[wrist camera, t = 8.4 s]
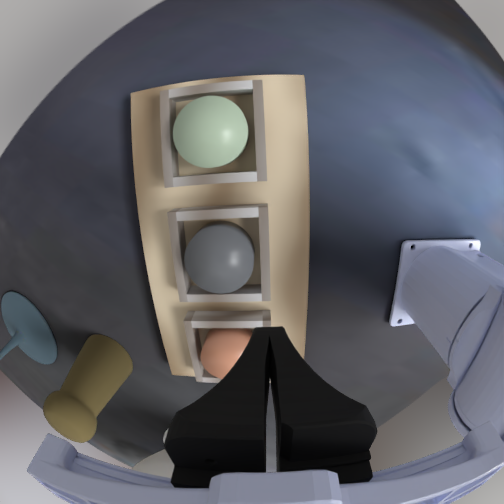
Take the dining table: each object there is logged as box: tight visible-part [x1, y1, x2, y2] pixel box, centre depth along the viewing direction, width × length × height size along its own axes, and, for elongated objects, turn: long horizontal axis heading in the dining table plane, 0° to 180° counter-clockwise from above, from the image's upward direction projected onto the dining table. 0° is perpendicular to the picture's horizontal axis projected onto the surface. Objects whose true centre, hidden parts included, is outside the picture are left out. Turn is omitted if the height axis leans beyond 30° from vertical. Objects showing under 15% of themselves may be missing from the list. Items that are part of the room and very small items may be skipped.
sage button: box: [173, 96, 249, 168], centre depth 16 cm, size 4×4×2 cm
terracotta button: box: [200, 328, 253, 379], centre depth 21 cm, size 4×4×2 cm
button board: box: [131, 75, 310, 383], centre depth 19 cm, size 12×24×3 cm, turn 3°
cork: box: [43, 334, 133, 443], centre depth 20 cm, size 6×6×11 cm
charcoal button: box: [184, 221, 255, 294], centre depth 18 cm, size 4×4×2 cm
